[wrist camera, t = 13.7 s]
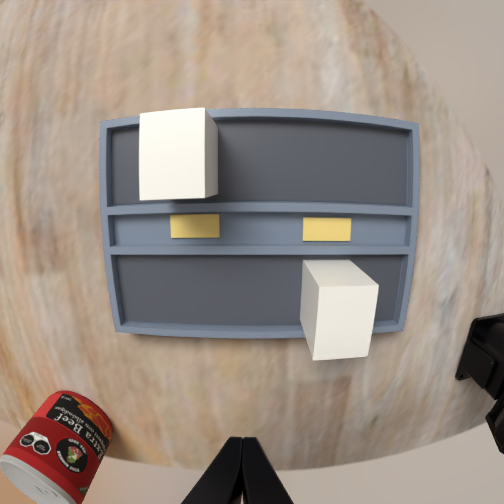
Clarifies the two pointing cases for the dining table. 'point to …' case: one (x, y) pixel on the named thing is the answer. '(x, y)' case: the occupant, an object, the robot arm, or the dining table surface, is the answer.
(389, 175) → the divided tray
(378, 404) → the dining table surface
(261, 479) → the robot arm
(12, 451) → the canned food
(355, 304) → the white block
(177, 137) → the cream rectangular block
